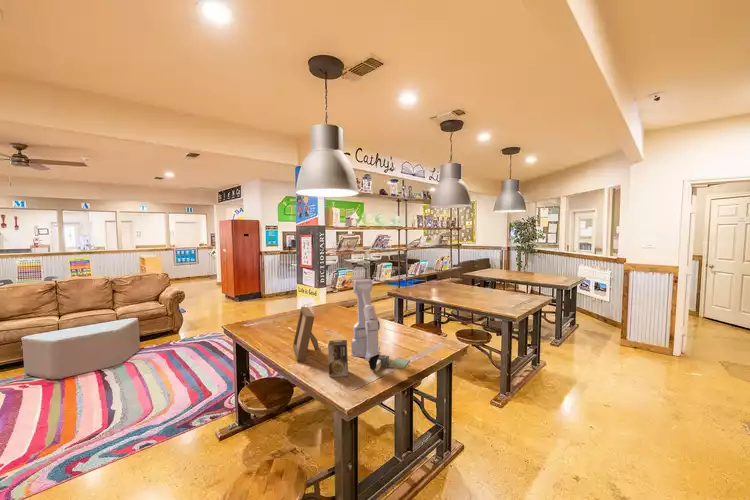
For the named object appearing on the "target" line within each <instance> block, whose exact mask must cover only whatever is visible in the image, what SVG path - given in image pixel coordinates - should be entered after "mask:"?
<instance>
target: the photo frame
mask: <svg viewBox="0 0 750 500" xmlns="http://www.w3.org/2000/svg"><path fill="white" fill-rule="evenodd" d="M314 322H315V314H313V312H312V310H311V309H310V307H307V306H301V307H300V312H299V316H298V321H297V326H296V329H295V330H296V331H295V334H294V339H293V342H292V348H293V351H294V355H295V358H296V361H301V362H305V361H306V357H307V354H308V349H309V344H310V341H311V343H312V345H313V348H314V350H315V351H317V350H318V348H319V342H318V339H317V338H316V336H315V335H314V334H313V332H312V331H313V330H312V329H313V325H314Z"/></svg>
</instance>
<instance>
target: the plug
mask: <svg viewBox="0 0 750 500" xmlns="http://www.w3.org/2000/svg"><path fill="white" fill-rule="evenodd" d="M381 367H383V366H382V359H380V358H378V360H377V364H376V369H375V370H374V371H376V372H378V371H379V369H380V368H381Z"/></svg>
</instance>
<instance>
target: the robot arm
mask: <svg viewBox="0 0 750 500" xmlns="http://www.w3.org/2000/svg"><path fill="white" fill-rule="evenodd" d="M352 285H353V286H352V288H353V289H352V290H353V293H354V294H356V297H357V299H356V302H357V303H356V305H357V307H356V308H357V322H356V323H355V324H354V325H353V327H352V337H353V338H352V340H351V349H350V350H351V354H350V356H352V357H354V356H355V357H360V358H364V361H365V362H368V365H369V368H370V371H375V369H376V364H377V360H378V358H379V355H382V353H381V351H380V350H381V349H380V348H381V346H379V331H380V329H381V327H380V326H381V325H380V320H379V318H378V316H377V313H376V309H375V306H374V305H373V304H372V299H371V298H372V297H371V293H372V290H373V286H374V285H373V281H372V279H371V278H368V279H365V278H364V279H354V280H353V283H352Z"/></svg>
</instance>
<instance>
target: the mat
mask: <svg viewBox="0 0 750 500" xmlns="http://www.w3.org/2000/svg"><path fill="white" fill-rule="evenodd" d="M409 362H410V359H405V358H399V357H395V358H394V359H393V360H392V361H391V363H389V366H388V367H390V368H396V369H401V370H404V369H405V368H406V366H407V365H408V364H409Z"/></svg>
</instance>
